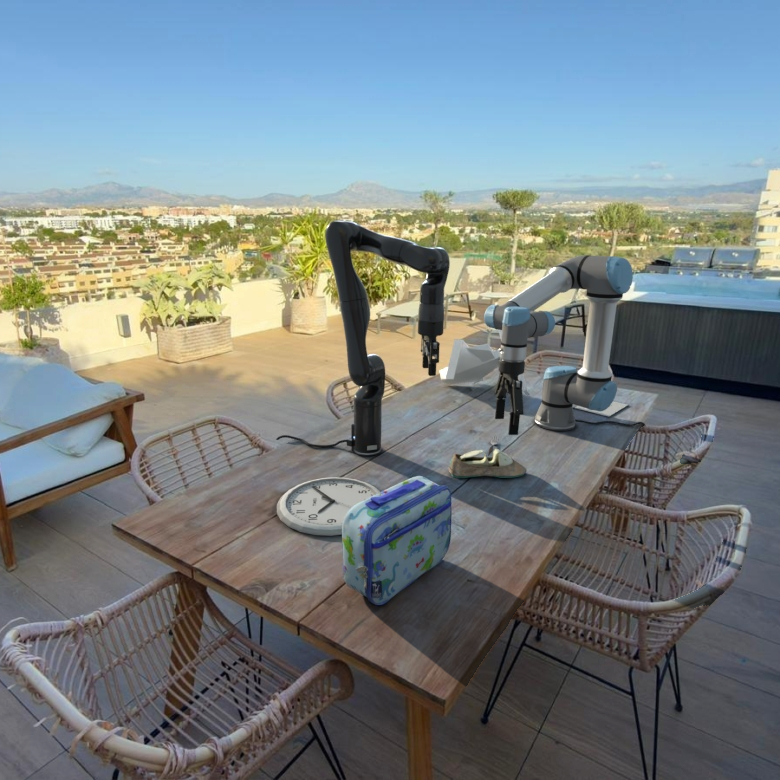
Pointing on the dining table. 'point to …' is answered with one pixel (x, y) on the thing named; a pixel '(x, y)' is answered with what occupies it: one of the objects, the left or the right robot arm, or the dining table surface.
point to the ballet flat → (485, 465)
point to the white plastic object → (473, 364)
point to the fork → (493, 444)
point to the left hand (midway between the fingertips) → (428, 371)
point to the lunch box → (395, 537)
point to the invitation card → (609, 411)
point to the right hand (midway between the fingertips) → (505, 426)
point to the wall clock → (322, 504)
